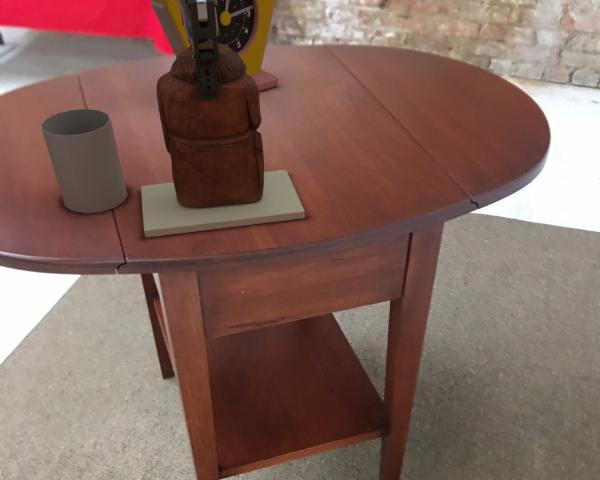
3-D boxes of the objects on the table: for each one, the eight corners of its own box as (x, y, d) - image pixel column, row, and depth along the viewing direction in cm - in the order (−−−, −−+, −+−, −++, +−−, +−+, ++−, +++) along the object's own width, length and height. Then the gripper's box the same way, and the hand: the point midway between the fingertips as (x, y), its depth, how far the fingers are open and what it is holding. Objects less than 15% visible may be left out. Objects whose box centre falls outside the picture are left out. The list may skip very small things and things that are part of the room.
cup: (95, 177, 89) (76, 104, 82) (139, 191, 86) (124, 116, 79) (50, 203, 84) (26, 127, 77) (96, 218, 81) (75, 141, 74)
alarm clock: (186, 114, 105) (164, -42, 90) (158, 98, 110) (133, -52, 95) (291, 83, 114) (287, -63, 99) (261, 70, 119) (253, -71, 104)
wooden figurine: (261, 182, 85) (252, 32, 73) (267, 204, 81) (258, 49, 68) (173, 190, 84) (148, 39, 71) (174, 213, 79) (147, 56, 67)
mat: (145, 237, 77) (143, 230, 77) (142, 192, 86) (140, 185, 85) (304, 218, 80) (304, 211, 79) (286, 176, 88) (286, 169, 88)
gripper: (143, -105, 65) (169, 70, 77) (149, -82, 55) (178, 115, 67) (216, -108, 66) (230, 65, 78) (234, -87, 56) (248, 108, 68)
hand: (206, 87), depth 73 cm, fingers closed on wooden figurine, 6 cm apart
